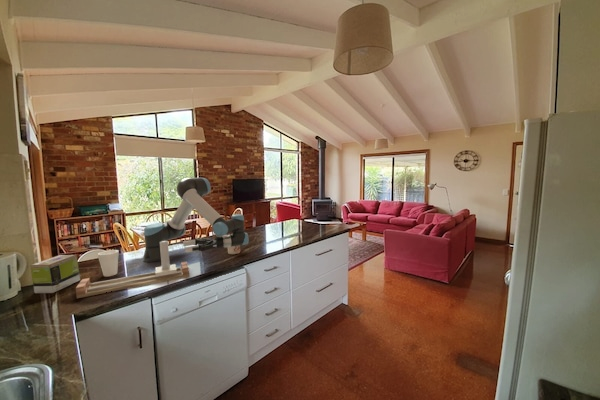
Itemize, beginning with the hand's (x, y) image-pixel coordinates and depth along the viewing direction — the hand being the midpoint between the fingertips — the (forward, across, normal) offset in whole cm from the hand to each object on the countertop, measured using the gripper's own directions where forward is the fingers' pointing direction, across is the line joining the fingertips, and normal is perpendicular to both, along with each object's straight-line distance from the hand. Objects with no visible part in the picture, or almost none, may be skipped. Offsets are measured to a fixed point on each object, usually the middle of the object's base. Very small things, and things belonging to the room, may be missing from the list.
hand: (184, 246), depth 143 cm
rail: (+23, 0, -16) cm, 28 cm away
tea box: (+59, +16, -17) cm, 63 cm away
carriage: (+10, 0, -13) cm, 16 cm away
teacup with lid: (-35, +25, -16) cm, 46 cm away
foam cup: (+38, +22, -16) cm, 47 cm away
